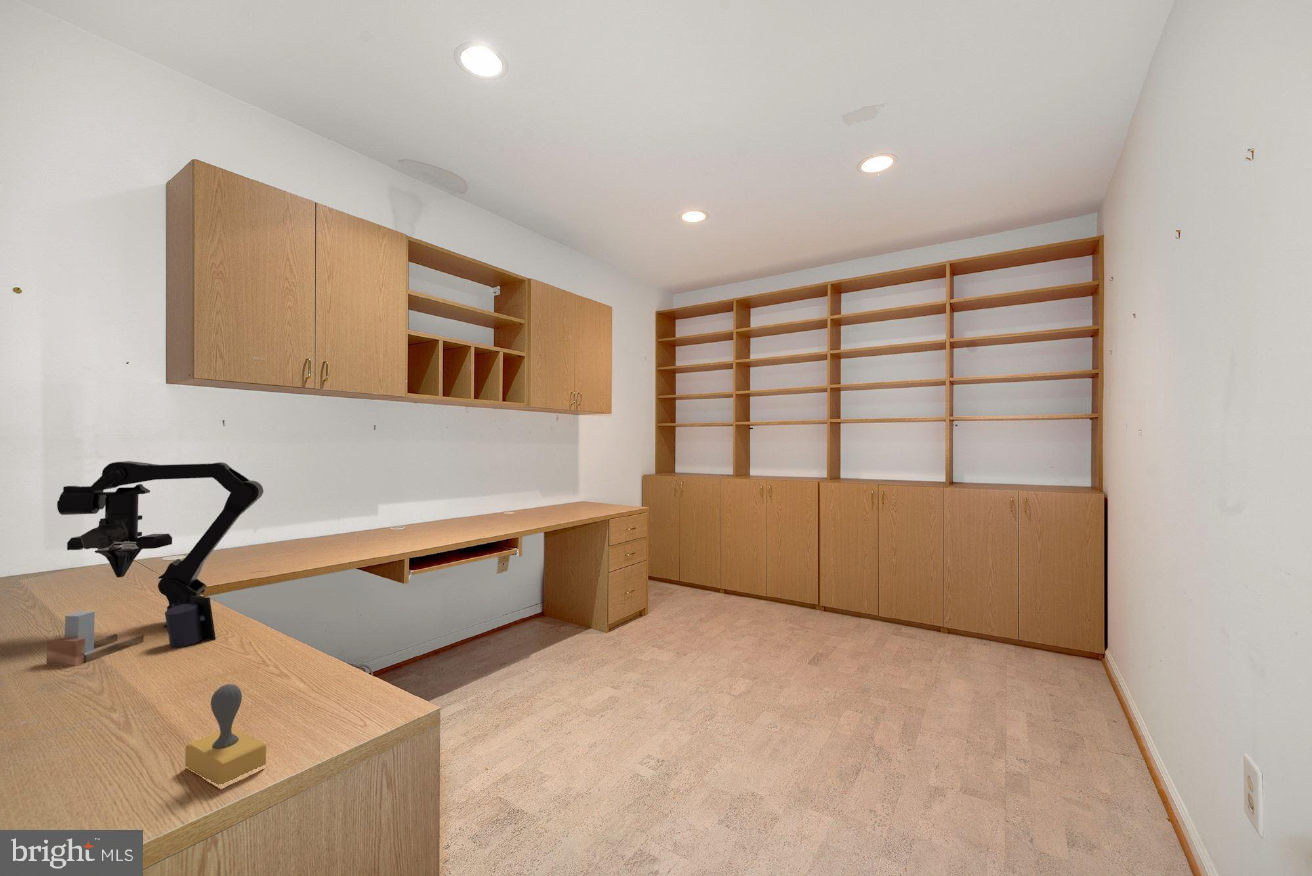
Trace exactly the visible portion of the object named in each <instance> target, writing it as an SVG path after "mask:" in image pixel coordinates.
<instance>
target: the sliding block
mask: <svg viewBox="0 0 1312 876" xmlns="http://www.w3.org/2000/svg"><path fill="white" fill-rule="evenodd" d="M95 616H96V615H95V611H83V610H82V611H78V612H74V613H71V614H68V615H67V614H66V615H64V638H85V654H88V653H91V652H93V651H96V650H97V649H94V641H95Z"/></svg>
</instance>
